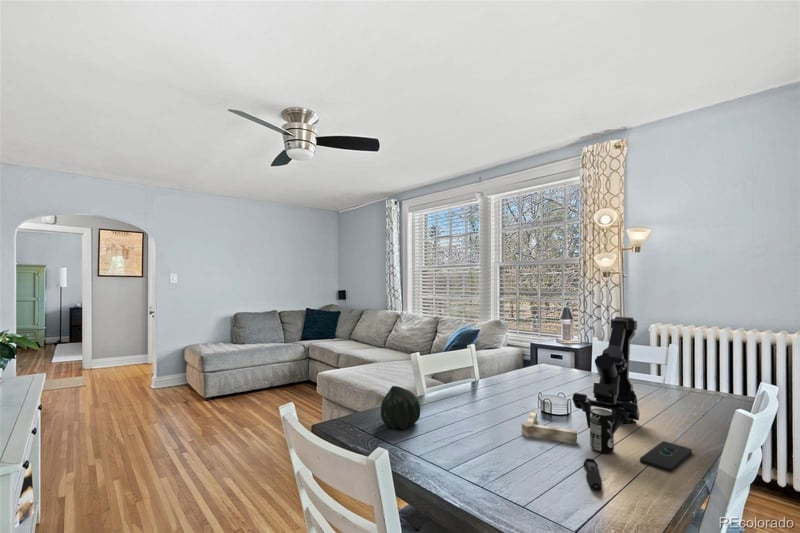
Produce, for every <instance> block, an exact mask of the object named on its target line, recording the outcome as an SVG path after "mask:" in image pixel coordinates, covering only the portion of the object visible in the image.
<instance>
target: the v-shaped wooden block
mask: <svg viewBox="0 0 800 533" xmlns="http://www.w3.org/2000/svg"><path fill="white" fill-rule="evenodd" d="M537 422H538V411H533V410H531V411H530V414H529V416H528V417H527V420H526V422H522V423H521V434H522V435H523V436H525V437H526V438H529V437H530V438H531V437H533V438H539V439H545V440H550V441H557V442H563V443H569V444H576V445H577V444H578V435H577V434H578V431H577V430H573V429H567V428H566V429H565V428H560V427H554V426H549V425H548V426H547V425H542V424H541V425H540V424H537Z"/></svg>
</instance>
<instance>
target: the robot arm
mask: <svg viewBox="0 0 800 533" xmlns="http://www.w3.org/2000/svg"><path fill="white" fill-rule="evenodd" d="M610 329H611V332H610V335H609V336H610V337H609V342H608V346H607V347H606V348H604V350H602V352H601V353H602V354H601V355H598V356H596V357H595V359H594V364H595V368H596V370H597V375H598V377H599V380H598V381H599V382H594V383H593V389H592V393H593V397H594V398H595V399H590V398H589V397H588V396H587V394H585V393H579V392H575V393H573V394H572V397H571V398H572V403H573V404H574V407H575V408H576V409H580V410H582V412H585V417H586V424H587V428H588V429H590V413H591V412H592V411H591V410H592V407H595V408H599V409H605V410H609V411H611V412H612V416H613V427H612V433H613V434H614V435H615V433H616V432H617V431H618V429H619V428H620V427H621V425H623V424H637V421H639V420H640V409H639V406H638V398H637V395H636V392H635V390H634V385H633V384H632V383H631V380H630V378H629V377H630V374H629V373H630V350H631V349H630V348H631V340H632V339H633V338H634V336H636V331H637V330H638V321H637V320H635V319H634V317H627V316H625V317H624V316H614V318H611V319H610Z"/></svg>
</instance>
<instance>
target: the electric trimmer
mask: <svg viewBox="0 0 800 533" xmlns="http://www.w3.org/2000/svg"><path fill="white" fill-rule="evenodd" d="M583 467H585V470H586V475H585V477H586V481H587V482H588V484H589V487H590V489H592V490H596V491H602V478H601V475H600V472H599V465H598V462H597V461H596V460H595V459H594V458H589V457H587V458H586V459H585V460H584V462H583Z"/></svg>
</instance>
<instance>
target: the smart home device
mask: <svg viewBox="0 0 800 533" xmlns="http://www.w3.org/2000/svg"><path fill="white" fill-rule="evenodd" d="M692 454H693V448H690V447H686V446H681V445H678V444H675V443H671V442H668V441H665V440H664V441H663V440H662V441H661V442H660V443H658V444H657V445H656V446H654V447H653V448H652V449H650V450H648V451H647V452H646V453H645V454H643V455H642V456H640V458H639V463H640V464H643V465H646V466H649V467H653V468H655V469H658V470H661V471H663V472H664V471H665V472H668V473H672V471H673V470H674V471H675V470H676V469H677V468H678V467H679V466H681V465H682V463H684V462H685V461H686V460H687V459H688V458H689V457H690V456H691V455H692ZM684 460H685V461H684ZM674 471H673V472H674Z"/></svg>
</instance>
